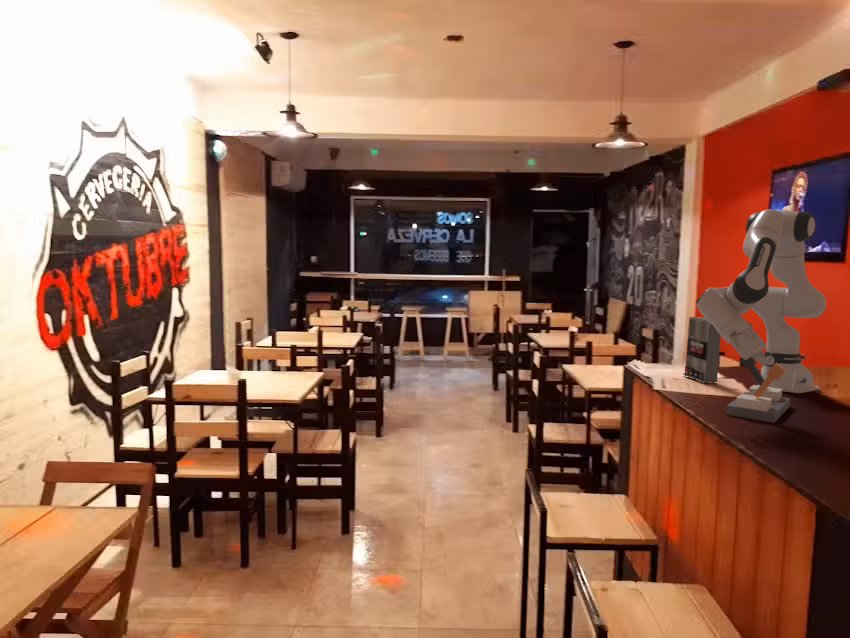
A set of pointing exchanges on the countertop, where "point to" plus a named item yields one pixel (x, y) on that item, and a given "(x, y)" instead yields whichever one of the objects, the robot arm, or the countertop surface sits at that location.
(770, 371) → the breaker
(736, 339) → the robot arm
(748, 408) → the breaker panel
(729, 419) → the countertop surface
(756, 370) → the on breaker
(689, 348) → the cassette tape recorder
